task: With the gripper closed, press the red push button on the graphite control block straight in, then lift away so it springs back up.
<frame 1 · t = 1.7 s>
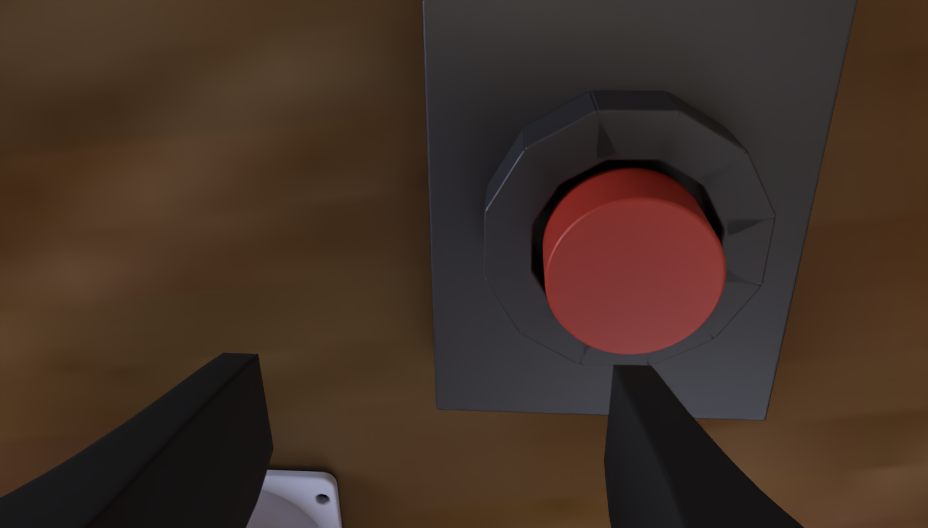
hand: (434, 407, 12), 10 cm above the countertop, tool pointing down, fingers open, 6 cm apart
control block: (607, 190, 21), on the countertop
red push button: (628, 261, 17), point 5 cm above the countertop, slide at 0.1 cm
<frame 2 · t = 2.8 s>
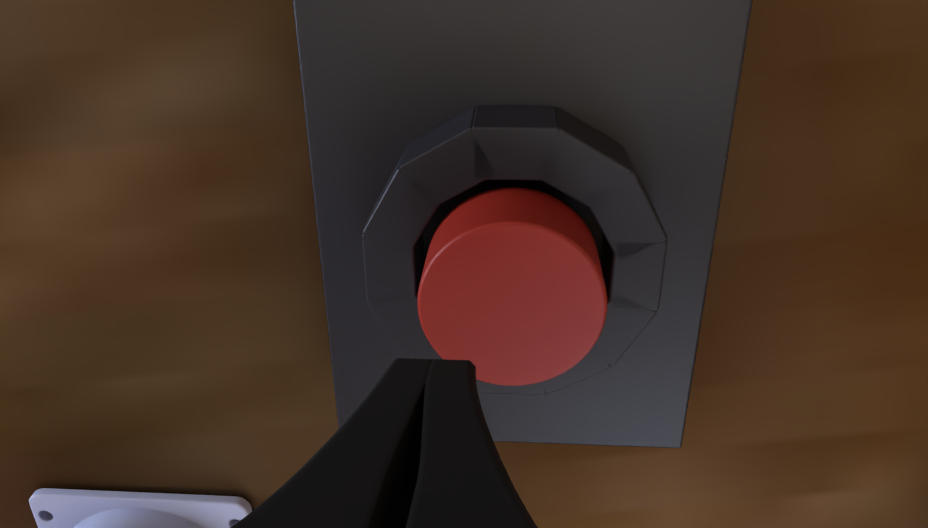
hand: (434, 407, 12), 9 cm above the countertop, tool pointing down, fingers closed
control block: (513, 207, 20), on the countertop
red push button: (511, 286, 16), point 5 cm above the countertop, slide at 0.1 cm
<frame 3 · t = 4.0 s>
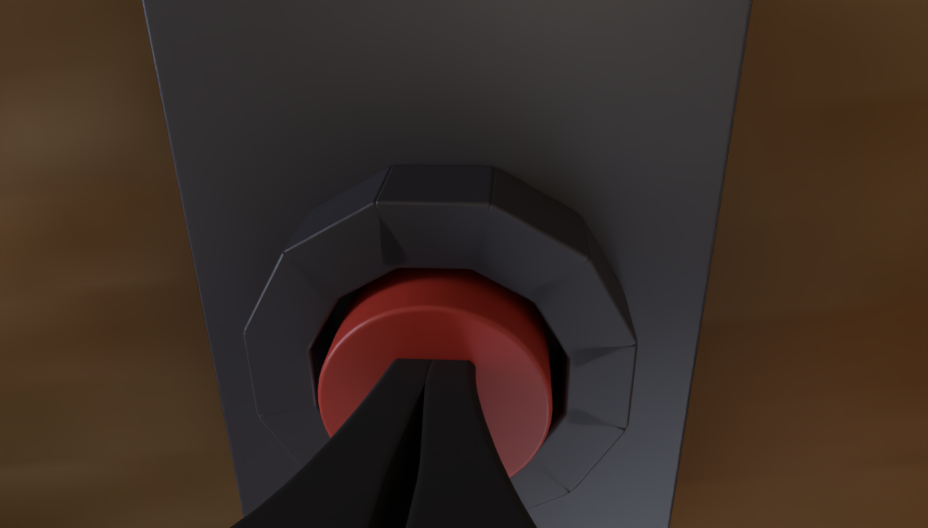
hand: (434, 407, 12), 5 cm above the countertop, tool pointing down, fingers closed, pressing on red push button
control block: (455, 278, 17), on the countertop
red push button: (439, 374, 13), point 4 cm above the countertop, slide at -0.8 cm, touching gripper
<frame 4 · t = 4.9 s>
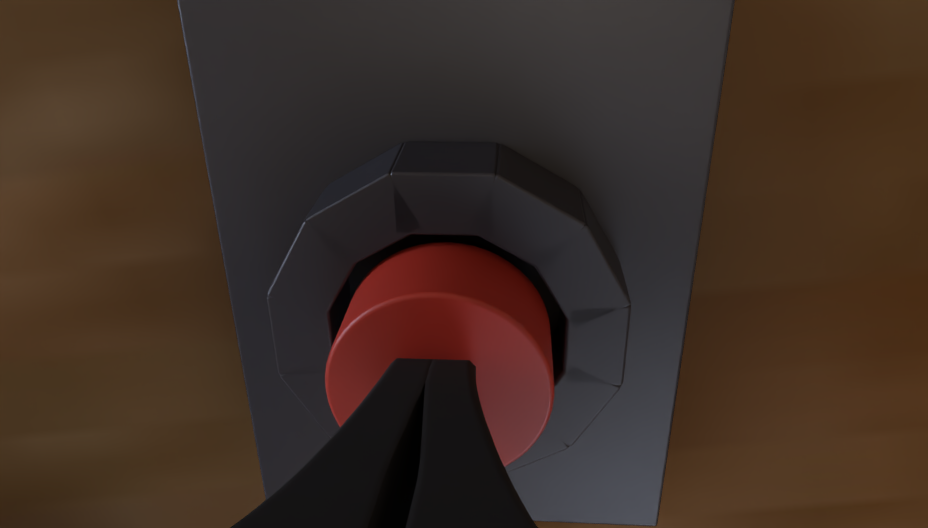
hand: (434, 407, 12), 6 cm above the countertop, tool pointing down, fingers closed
control block: (461, 252, 18), on the countertop
red push button: (443, 361, 14), point 5 cm above the countertop, slide at 0.1 cm
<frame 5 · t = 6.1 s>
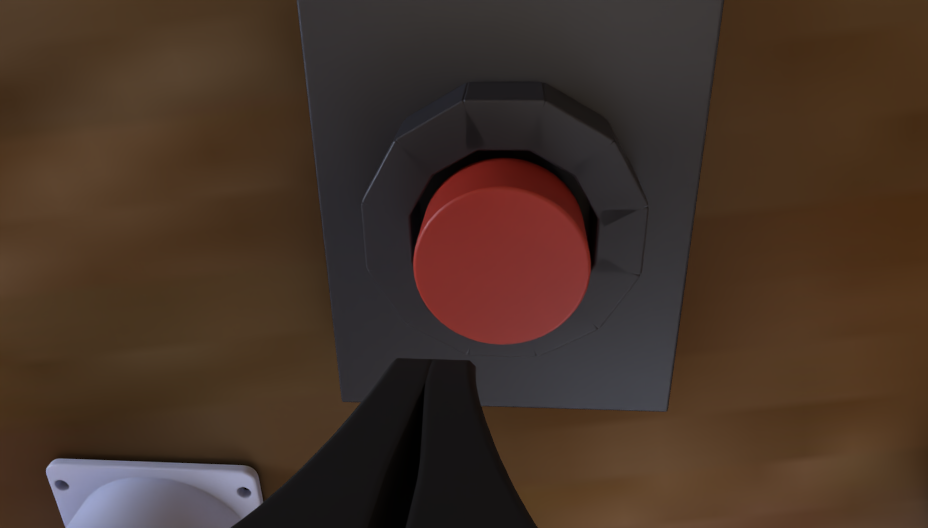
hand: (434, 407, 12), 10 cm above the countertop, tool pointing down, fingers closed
control block: (505, 182, 21), on the countertop
red push button: (502, 251, 17), point 5 cm above the countertop, slide at 0.1 cm
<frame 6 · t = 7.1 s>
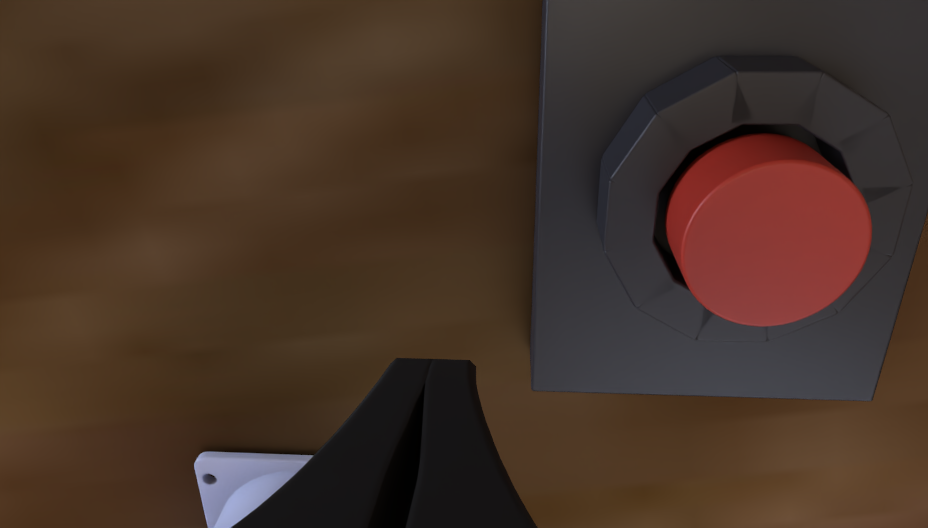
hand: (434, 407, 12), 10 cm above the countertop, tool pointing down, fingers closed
control block: (712, 164, 21), on the countertop
red push button: (761, 229, 17), point 5 cm above the countertop, slide at 0.1 cm
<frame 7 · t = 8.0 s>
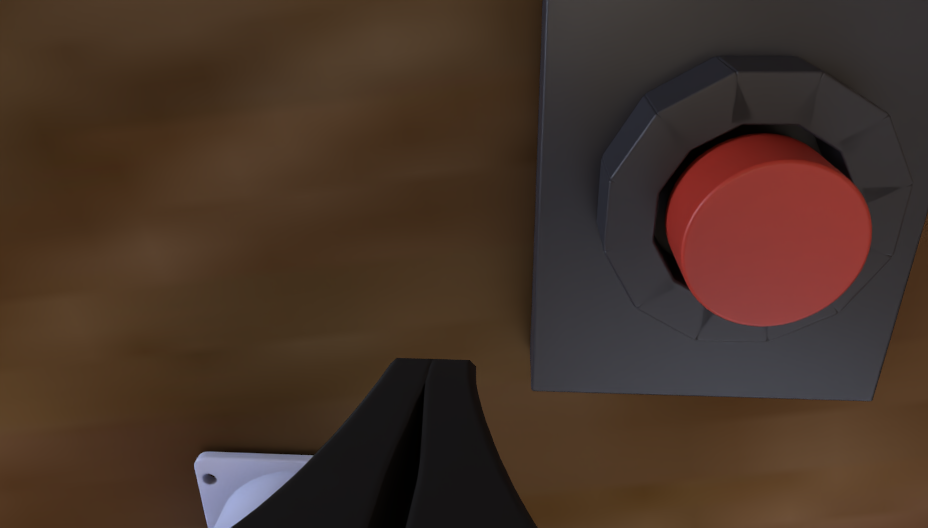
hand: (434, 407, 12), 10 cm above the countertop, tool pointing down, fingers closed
control block: (712, 164, 21), on the countertop
red push button: (761, 229, 17), point 5 cm above the countertop, slide at 0.1 cm
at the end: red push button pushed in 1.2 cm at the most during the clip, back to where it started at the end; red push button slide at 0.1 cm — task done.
